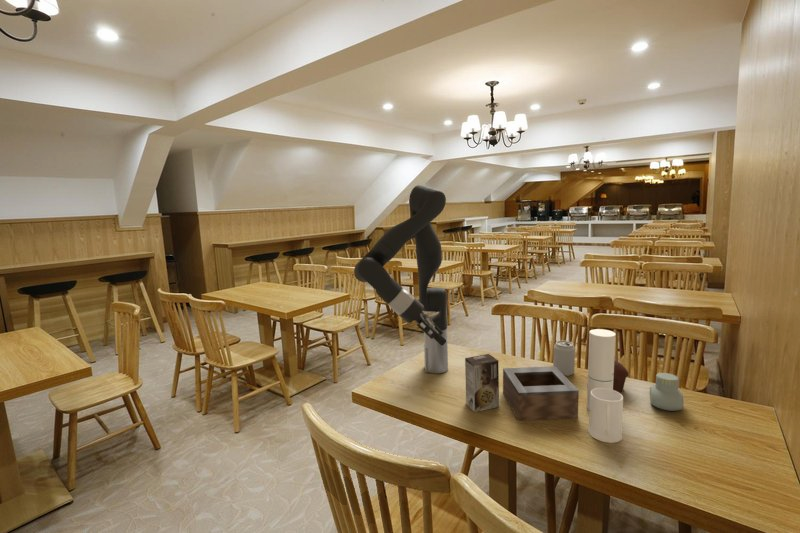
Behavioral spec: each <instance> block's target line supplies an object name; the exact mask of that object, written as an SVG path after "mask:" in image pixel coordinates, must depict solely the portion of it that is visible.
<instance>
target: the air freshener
mask: <svg viewBox="0 0 800 533" xmlns="http://www.w3.org/2000/svg"><path fill="white" fill-rule="evenodd" d="M679 380H680V379H679V377H678V376H677V375H675V374H672V373H668V372H659V373H657V374H656V375H655V384H653V385H651V386H650V387H649V402H650V404H651V405H652V406H654V407H656V408H658V409H660V410H663V411H671V412H672V411H673V412H674V411H680V410H682V409H684V406H685V405H684V404H685V403H684V394H683V392H682V391H681V390H679Z"/></svg>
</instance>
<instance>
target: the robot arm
mask: <svg viewBox="0 0 800 533" xmlns="http://www.w3.org/2000/svg"><path fill="white" fill-rule="evenodd" d="M446 198H447V197H446V194H445V193H444V192H443V191H442V190H440V189H437V188H434V187H430V186H426V185H423V184H418V185H415V186H414V187H413V188H412V189H411V192H410V195H409V200H408V203H409V210H410V215H411V216H410V218H407V219H406V220H404V221H402V222H400V223H398V224H396V225H395V226H394V225H393V226H392V227H391V228H389V229H388V230H386V232H384V233H383V235H382V236H381V237H380V238H379V240H378V241H376V243H375V244H374V246H373V247H372V248H371V249H370V250H369V251H368V252H367V253H366V254H365V255H364V256H363V257H362V258H361V259H360V260H359V261H358V262H357V263H356V265H355V267H354V270H353V272H354V273H353V274H354V277H355V279H356V280H357V281H358V282H362V283H367V284H369V286H370V287H372V288H373V289H374V290H375V293H376V295H377V296H378V297H379V298H380V299H381V300H383V301H384V302H385V303H386V304H387V305H388V307H389V308H390V309H391V310H392V311H393V312H394V313H395V314H396V315H398V316H399V317H400V318H401V319H402V320H403V321H405V323H407V324H412V323H413V322H416V325H417V327H418V328H419V329H420V330H421V331H422V332H423V340H424V342H423V353H424V354H423V356H424V359H423V360H424V371H425V373H430V374H443V373H446V372H448V371H449V359H448V358H449V357H448V356H449V352H448V351H449V350H448V348H449V347H448V317H447V316H448V292H447V290H446V289H445V288H444V287H428V286H429V283H430V281H431V280H432V278H433V277H434V275H436V273H437V271H438V270H439V269H440V267H441V264H442V262H443V261H442V260H443V256H442V244H441V241H440V239H439V237H438V235H437V234H436V231H435V229H434V227H433V226H432V222H433V221H434V220H435V219H436V218H437V217H438V216H439V215H441V213H442V212H443V211H444V208H445V206H446V204H447V203H446V202H447V199H446ZM413 237H414V242H415V256H416V265H417V273H418V299H417V298H416V297H415V296H413V294H412V293H411V292H410V291H408V290H407V289H405V287H404V288H403V286H402V285H401V284H399V283H398V282H397V281H396V280H395V279H394V278H392V277H391V275H390V273H389V272H388V271H387V270H386V269H385V267H384V266H385V265H386V264H387V263H389V262H390V261H391V260H392V259H393V258H394V257H395V256H396V255H397V254H398V253H399V251H401V249H402V248H403V247H404V246H405V244H406V243H407V242H408V241H410V240H411V239H412V238H413ZM425 312H427V313H428V312H431V313H432V312H438V313H437V314H435V315H434V316H432V317H429V316H428V315H427V314H426V313H425Z"/></svg>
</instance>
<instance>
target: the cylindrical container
mask: <svg viewBox="0 0 800 533" xmlns="http://www.w3.org/2000/svg"><path fill="white" fill-rule="evenodd" d="M588 333H589V334H588V335H589V336H588V337H589V339H588V359H587V361H588V362H587V366H588V367H587V389H586V390H587V392H586V408H587V410H588V411H589V412H590V395H591V390H593V389H595V388H607V389H612V390H613V378H614V360H615V353H616V352H615V351H616V332H614V331H612V330H609V329H602V328H596V329H591V330H589V332H588Z"/></svg>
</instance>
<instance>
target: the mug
mask: <svg viewBox="0 0 800 533" xmlns="http://www.w3.org/2000/svg"><path fill="white" fill-rule="evenodd" d="M622 394H623V393H619V392H617V391H615V390H612V389H607V388H595V389H593V390H591V395H590V411H589V419H588V420H589V421H588V423H589V425H588V428H587V431H588V432H587V433H588V434H589V436H591V437H592V438H593V439H596V440H598V441H601V442H604V443H610V444H613V443H618V442H620V441H622V439H623V433H622V430H623V429H622V428H623V427H622V426H623V425H622V424H623V411H624V410H623V407H624V396H623V395H622Z"/></svg>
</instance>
